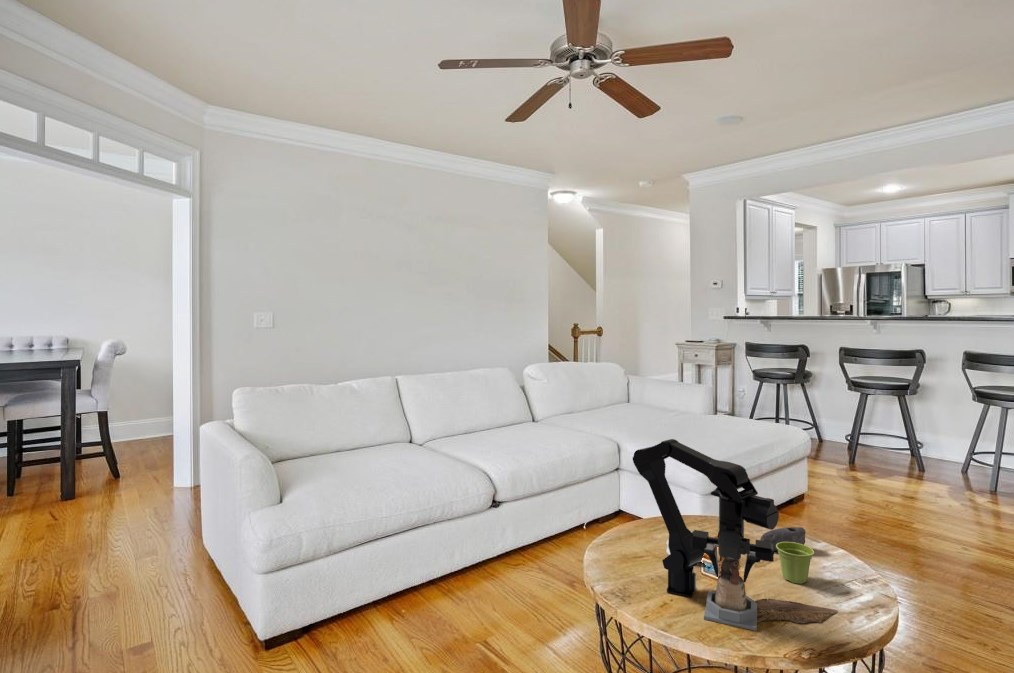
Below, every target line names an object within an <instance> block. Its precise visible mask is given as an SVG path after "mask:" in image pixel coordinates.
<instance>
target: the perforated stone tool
mask: <svg viewBox="0 0 1014 673" xmlns="http://www.w3.org/2000/svg"><path fill="white" fill-rule="evenodd" d="M806 534H807V533H806V529H805V528H804V527H800V526H798V527H794V526H792V527H791V526H790V527H789V526H788V527H781V528H774V529H773V530H768V531H766V532H764V533H763V534H762V535H761V537H760V539H759V540H762V541H768V542H771V543H772V544H773V549H774V551H777V552H778V549H777V548H776V544H777V543H780V542H794V543H799V544H803V545H806V544H805V543H806Z"/></svg>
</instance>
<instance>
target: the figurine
mask: <svg viewBox="0 0 1014 673" xmlns="http://www.w3.org/2000/svg"><path fill="white" fill-rule="evenodd" d="M721 564H722V565H721V570H719V574H720V575H719V577H717V581H716V596H715V602H716V604H717V605H718V606H719V607H721V608H724V609H728V610H733V611H738V612H739V611H744V610H746V607H747V601H746V596H747V595H746V594H747V593H746V592H747V591H746V585H745V584H746V583H745V582H744V578H743V577H742V576H740V571H739V561H738V560H737V559H733V558H729V557H726V558H725V559H724V560H722V561H721Z"/></svg>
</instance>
